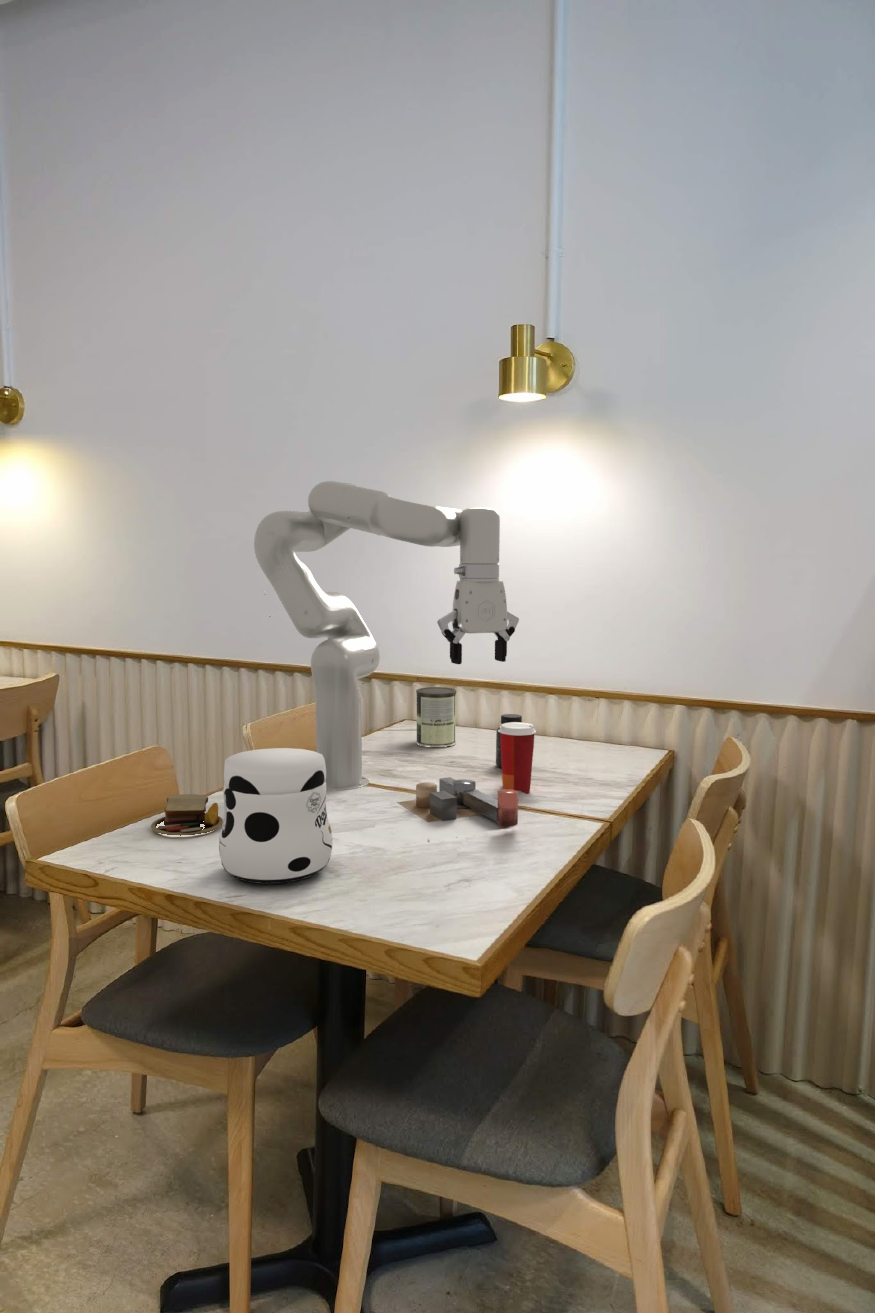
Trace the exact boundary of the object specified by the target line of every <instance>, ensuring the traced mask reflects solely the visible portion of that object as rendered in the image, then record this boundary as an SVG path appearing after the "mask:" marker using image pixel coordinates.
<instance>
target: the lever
mask: <svg viewBox="0 0 875 1313" xmlns="http://www.w3.org/2000/svg"><path fill="white" fill-rule="evenodd" d="M476 784H477V782H476V781H475V780H471V779H464V778H463V779H454V778H453V777H450V776H449V777H442V778H439V788H438V792H439V791H446V792H448V793H449V794H451V795H453V796H455V797H457V803H460V804H464V805H466V806H468V807H470V808H472V809H473V810H475V811H477V812H479V813H481V814H482V815H483V816H485V817H487V818H489V819H491V820H493V821H494V822H496V823H497V825H499V826H502V827H514V826H517V825H518V824H519V791H516V790H512V789H505V788H503V789H499V790H498V791H497V798H494V797H492V796H490V795H488V794H486V793H484V792H482V791H480V790H478V789H476Z"/></svg>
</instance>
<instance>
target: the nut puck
mask: <svg viewBox="0 0 875 1313" xmlns="http://www.w3.org/2000/svg"><path fill="white" fill-rule="evenodd" d="M431 792H438V785H437V784H436V783H433V782H421V783H417V784H415V800H416V807H418V808H423V809H430V793H431Z"/></svg>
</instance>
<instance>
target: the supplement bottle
mask: <svg viewBox="0 0 875 1313" xmlns="http://www.w3.org/2000/svg"><path fill="white" fill-rule="evenodd" d="M522 716H523V715H521V714H515V713H504V714H501V715H500V724H501V725H500V726H502V724H504V723H510V722H521V723H523V717H522ZM500 726H498V728H496V732H495V734H496V735H495V765H496V767H497V768H499V769H502V762H501V739H500V732H498V730H499V729H500Z"/></svg>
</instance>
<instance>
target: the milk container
mask: <svg viewBox="0 0 875 1313" xmlns="http://www.w3.org/2000/svg"><path fill="white" fill-rule="evenodd" d="M223 768H224V769H223V781H224V782H223V783H224V785H223V803H224V815H223V823H222V825H221V830H220V834H219V837H218V838H219V839H218V851H219V856H220V861H221V865H222V867H223V868H224V871H225V872H227V873H228V874H229V875H230V876H232V877H234V879H238V880H241V881H245V882H248V883H255V884H256V883H257V884H282V883H283V884H284V883H291V882H296V881H301V880H303V879H306V878H310V877H314V875H317V874H318V873H320V872H321V871H322V870H324V869H325V868H326V867H327V865H328V863H329V861H330V859H331V855H332V849H333V831H332V828H331V825H330V822H329V817H328V811H327V790H326V765H325V760H324V757H323V755H322V754H320V753H317V752H316V751H315V750H308V749H304V748H291V747H290V748H289V747H280V748H279V747H278V748H277V747H275V748H274V747H273V748H271V747H270V748H260V749H258V748H257V749H252V750H246V751H241V752H238V753H236V754H232V755H229V756H228V757H227V758H226V759H225V760H224V767H223Z"/></svg>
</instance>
